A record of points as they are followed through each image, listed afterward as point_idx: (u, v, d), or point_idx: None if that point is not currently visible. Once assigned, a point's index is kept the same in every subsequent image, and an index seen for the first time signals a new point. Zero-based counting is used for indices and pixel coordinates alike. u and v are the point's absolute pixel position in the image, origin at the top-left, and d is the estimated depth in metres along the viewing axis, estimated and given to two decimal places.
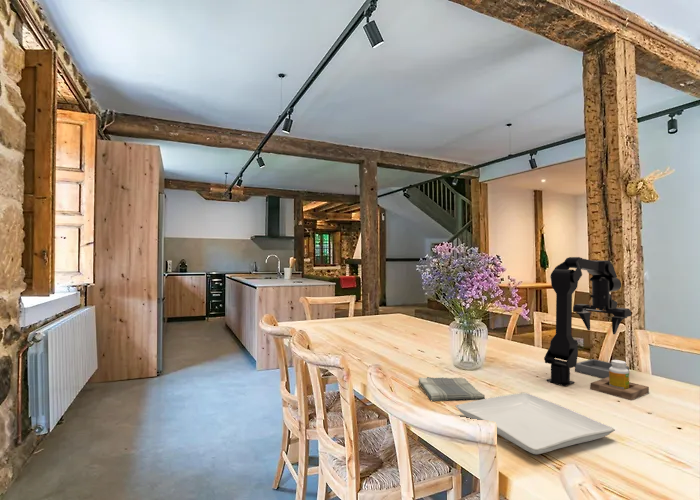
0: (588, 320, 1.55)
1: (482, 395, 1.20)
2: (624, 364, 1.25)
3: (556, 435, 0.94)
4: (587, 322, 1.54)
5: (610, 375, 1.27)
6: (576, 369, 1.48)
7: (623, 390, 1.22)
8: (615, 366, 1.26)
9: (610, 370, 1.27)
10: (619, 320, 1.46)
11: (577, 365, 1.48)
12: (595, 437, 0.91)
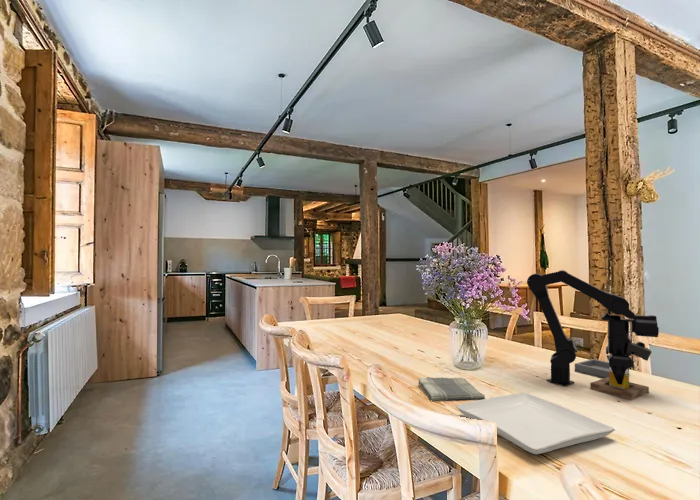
0: None
1: (482, 395, 1.20)
2: None
3: (556, 435, 0.94)
4: None
5: (610, 375, 1.27)
6: (576, 369, 1.48)
7: (623, 390, 1.22)
8: None
9: (610, 370, 1.27)
10: (623, 369, 1.23)
11: (577, 365, 1.48)
12: (595, 437, 0.91)
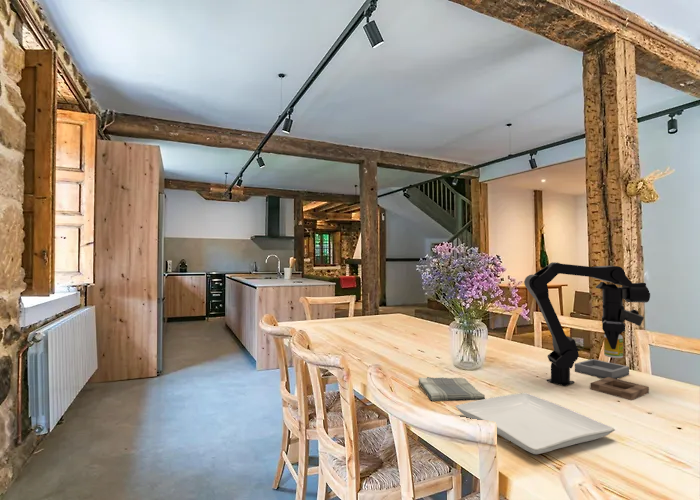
0: None
1: (482, 395, 1.20)
2: None
3: (556, 435, 0.94)
4: None
5: (605, 341, 1.33)
6: (576, 369, 1.48)
7: (623, 390, 1.22)
8: None
9: (605, 336, 1.33)
10: (616, 334, 1.29)
11: (577, 365, 1.48)
12: (595, 437, 0.91)
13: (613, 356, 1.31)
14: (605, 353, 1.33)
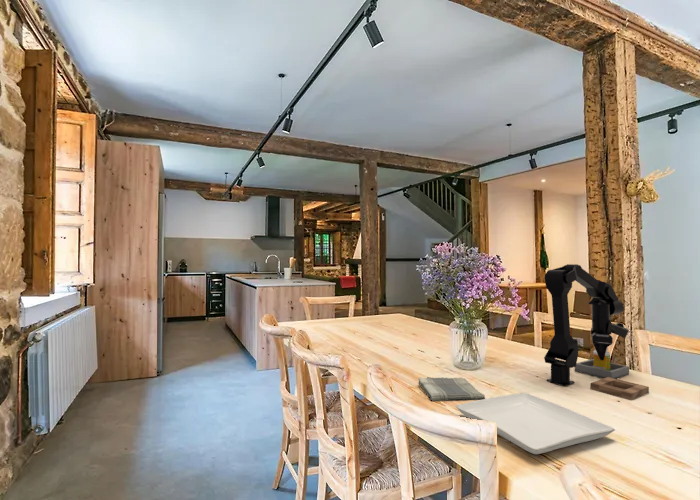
0: None
1: (482, 395, 1.20)
2: None
3: (556, 435, 0.94)
4: None
5: (594, 357, 1.47)
6: (576, 369, 1.48)
7: (623, 390, 1.22)
8: None
9: (594, 353, 1.47)
10: (604, 346, 1.41)
11: (577, 365, 1.48)
12: (595, 437, 0.91)
13: None
14: None
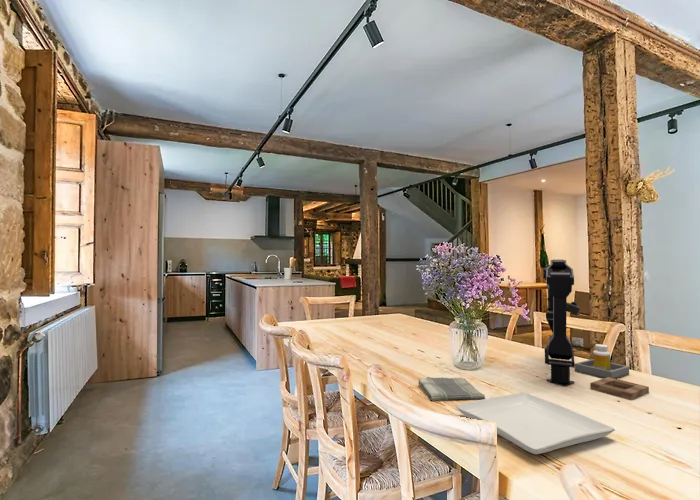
0: None
1: (482, 395, 1.20)
2: (606, 347, 1.45)
3: (556, 435, 0.94)
4: None
5: (594, 357, 1.47)
6: (576, 369, 1.48)
7: (623, 390, 1.22)
8: (598, 349, 1.46)
9: (594, 353, 1.47)
10: None
11: (577, 365, 1.48)
12: (595, 437, 0.91)
13: None
14: None
